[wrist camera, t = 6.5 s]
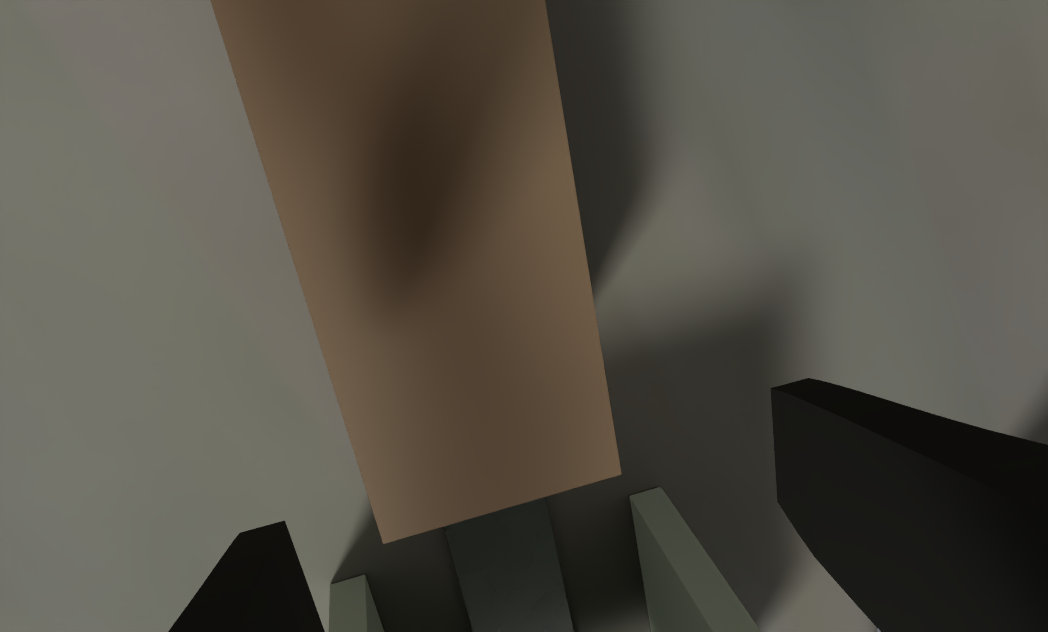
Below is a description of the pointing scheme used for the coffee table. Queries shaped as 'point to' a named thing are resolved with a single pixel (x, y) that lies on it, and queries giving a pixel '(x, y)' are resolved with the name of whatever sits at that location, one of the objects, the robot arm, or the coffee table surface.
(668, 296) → the coffee table surface
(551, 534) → the rail
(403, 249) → the brown rectangular box
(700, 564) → the tunnel
